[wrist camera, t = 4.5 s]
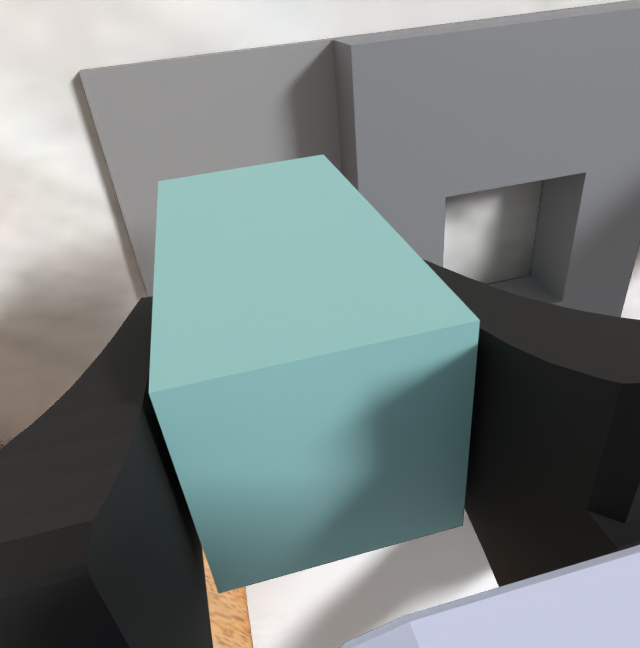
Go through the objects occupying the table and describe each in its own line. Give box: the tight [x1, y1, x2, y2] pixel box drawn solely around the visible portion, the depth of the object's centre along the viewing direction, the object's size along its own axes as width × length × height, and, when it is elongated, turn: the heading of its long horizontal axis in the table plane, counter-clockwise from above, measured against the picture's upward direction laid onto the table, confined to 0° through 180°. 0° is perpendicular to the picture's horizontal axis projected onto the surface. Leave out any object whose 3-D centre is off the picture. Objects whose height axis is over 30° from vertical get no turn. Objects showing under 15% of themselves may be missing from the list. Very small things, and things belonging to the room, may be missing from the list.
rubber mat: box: [79, 39, 342, 297], centre depth 19 cm, size 8×8×1 cm
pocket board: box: [331, 0, 640, 317], centre depth 22 cm, size 16×12×2 cm
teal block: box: [149, 155, 480, 593], centre depth 11 cm, size 4×4×8 cm
